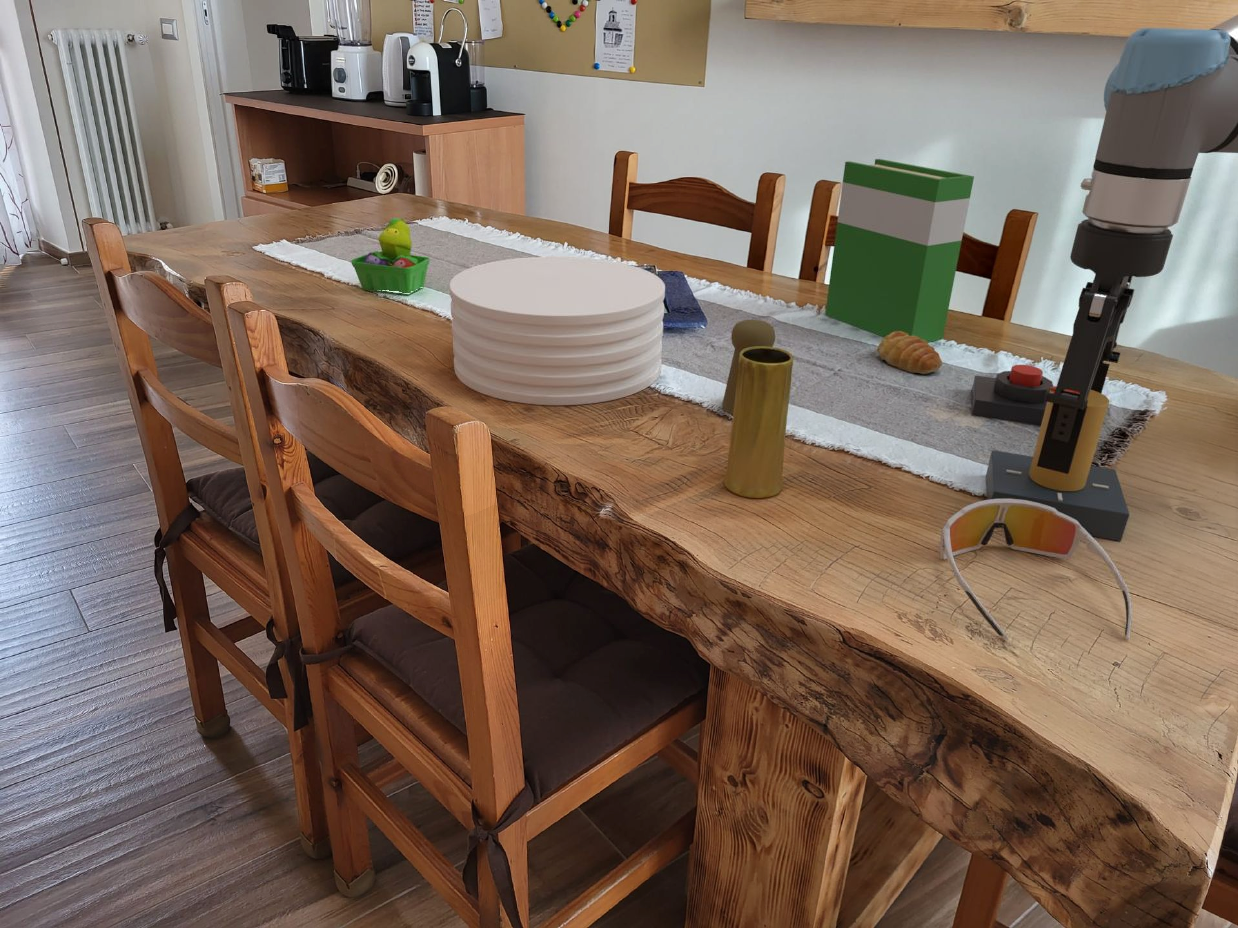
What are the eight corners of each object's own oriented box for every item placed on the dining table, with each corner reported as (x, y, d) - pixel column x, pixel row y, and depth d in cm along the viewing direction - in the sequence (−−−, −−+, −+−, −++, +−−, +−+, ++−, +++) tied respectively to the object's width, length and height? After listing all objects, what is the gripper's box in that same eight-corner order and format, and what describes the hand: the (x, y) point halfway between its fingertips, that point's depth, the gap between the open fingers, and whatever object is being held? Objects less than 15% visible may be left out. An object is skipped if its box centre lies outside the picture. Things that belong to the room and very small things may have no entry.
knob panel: (1107, 494, 95) (1116, 467, 94) (1121, 541, 86) (1130, 512, 85) (985, 474, 98) (992, 448, 97) (987, 517, 90) (994, 489, 88)
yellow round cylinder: (1088, 476, 92) (1113, 390, 88) (1081, 496, 88) (1107, 407, 84) (1033, 463, 94) (1055, 378, 90) (1024, 482, 90) (1046, 395, 86)
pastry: (952, 373, 126) (958, 347, 124) (915, 380, 123) (919, 353, 122) (906, 351, 134) (910, 326, 132) (869, 358, 131) (873, 332, 129)
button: (1038, 380, 114) (1042, 366, 114) (1040, 390, 111) (1043, 376, 111) (1008, 375, 115) (1011, 362, 115) (1009, 385, 112) (1012, 372, 112)
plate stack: (414, 358, 125) (408, 276, 120) (573, 321, 142) (573, 247, 137) (538, 424, 107) (536, 330, 102) (703, 372, 124) (709, 289, 119)
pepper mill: (713, 409, 112) (719, 323, 107) (735, 394, 117) (743, 311, 112) (757, 421, 109) (766, 334, 104) (778, 406, 114) (788, 321, 109)
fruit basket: (351, 291, 154) (344, 223, 149) (379, 278, 161) (373, 213, 156) (411, 299, 150) (406, 229, 145) (437, 285, 158) (433, 219, 153)
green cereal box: (825, 315, 149) (845, 161, 138) (857, 308, 153) (879, 159, 142) (909, 346, 136) (939, 180, 125) (942, 339, 139) (974, 176, 129)
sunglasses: (1063, 540, 86) (1080, 497, 83) (1144, 659, 74) (1167, 614, 71) (915, 540, 85) (927, 497, 82) (972, 660, 73) (989, 615, 70)
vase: (711, 482, 95) (722, 352, 89) (751, 466, 99) (764, 340, 92) (754, 505, 91) (769, 370, 84) (794, 487, 94) (811, 357, 88)
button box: (1061, 403, 117) (1069, 374, 116) (1067, 430, 110) (1076, 399, 108) (971, 390, 120) (977, 362, 119) (971, 416, 113) (978, 385, 111)
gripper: (1101, 198, 91) (1050, 396, 100) (1053, 242, 72) (996, 480, 82) (1186, 208, 87) (1125, 412, 97) (1159, 257, 69) (1086, 504, 78)
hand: (1066, 444), depth 89 cm, fingers open, 13 cm apart
